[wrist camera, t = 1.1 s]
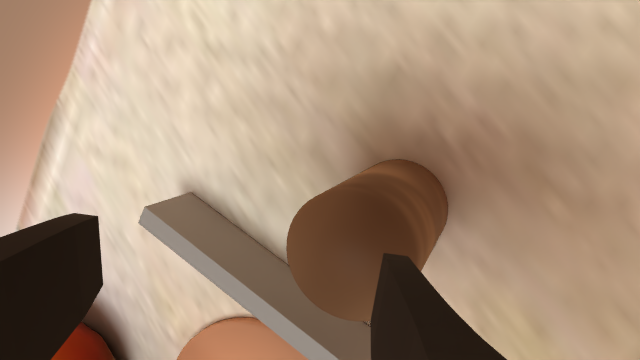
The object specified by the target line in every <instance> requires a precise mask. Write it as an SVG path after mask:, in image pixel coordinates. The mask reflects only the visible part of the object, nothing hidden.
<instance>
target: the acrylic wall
mask: <svg viewBox="0 0 640 360" xmlns="http://www.w3.org/2000/svg"><path fill="white" fill-rule="evenodd" d="M138 223H139V224H140V225H141V226H143V227H144V228H145V229H146V230H148V231H149V232H150V233H151V234H153V235H154V236H155V237H156V238H158V239H159V240H160V241H161V242H163V243H164V244H165V245H166V246H168V247H169V248H170V249H171V250H173V251H174V252H175V253H176V254H178V255H179V256H180V257H181V258H183V259H184V260H185V261H186V262H188V263H189V264H190V265H191V266H193V267H194V268H195V269H196V270H198V271H199V272H200V273H201V274H203V275H204V276H205V277H206V278H208V279H209V280H210V281H211V282H213V283H214V284H215V285H216V286H218V287H219V288H220V289H221V290H222V291H224V292H225V293H226V294H227V295H229V296H230V297H231V298H232V299H234V300H235V301H236V302H237V303H239V304H240V305H241V306H242V307H244V308H245V309H246V310H247V311H249V312H250V313H251V314H252V315H254V316H255V317H256V318H257V319H259V320H260V321H261V322H262V323H264V324H265V325H266V326H267V327H269V328H270V329H271V330H272V331H274V332H275V333H276V334H277V335H279V336H280V337H281V338H282V339H284V340H285V341H286V342H287V343H289V344H290V345H291V346H292V347H294V348H295V349H296V350H297V351H299V352H300V353H301V354H302V355H304V356H305V357H306V358H307V359H309V360H371V327H369V326H368V325H367V324H365V323H364V322H363V321H348V320H344V319H340V318H337V317H335V316H332V315H330V314H328V313H326V312H324V311H323V310H321V309H320V308H318V307H317V306H316V305H315V304H313V303H312V302H311V301H310V300H309V299H308V298H307V297H306V296H305V295H304V293H303V292H302V291H301V289H300V288H299V286H298V285H297V283H296V281H295V280H294V277H293V275H292V273H291V270H290V267H289V266H288V265H287V264H286V263H284V262H283V261H282V260H280V259H279V258H278V257H276V256H275V255H274V254H272V253H271V252H270V251H268V250H267V249H266V248H264V247H263V246H262V245H260V244H259V243H258V242H256V241H255V240H254V239H252V238H251V237H250V236H248V235H247V234H246V233H244V232H243V231H242V230H240V229H239V228H238V227H236V226H235V225H234V224H232V223H231V222H230V221H228V220H227V219H226V218H224V217H223V216H222V215H220V214H219V213H218V212H216V211H215V210H214V209H212V208H211V207H210V206H208V205H207V204H206V203H204V202H203V201H202V200H200V199H199V198H198V197H196V196H195V195H194V194H192V193H191V192H190V193H187V194H184V195H181V196H178V197H174V198H171V199H168V200H165V201H162V202H159V203H155V204H152V205H149V206H146V207H144V210H143V212H142V215H141V217H140V220H139V222H138Z"/></svg>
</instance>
